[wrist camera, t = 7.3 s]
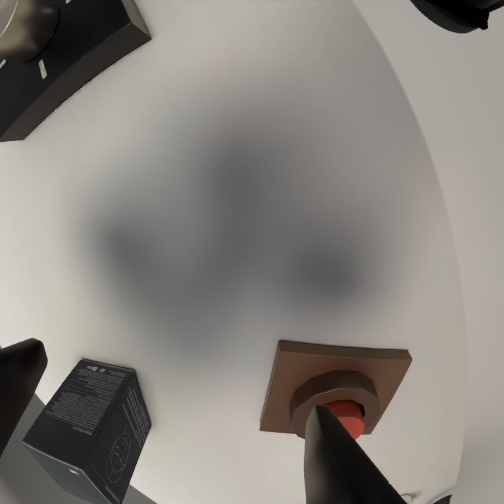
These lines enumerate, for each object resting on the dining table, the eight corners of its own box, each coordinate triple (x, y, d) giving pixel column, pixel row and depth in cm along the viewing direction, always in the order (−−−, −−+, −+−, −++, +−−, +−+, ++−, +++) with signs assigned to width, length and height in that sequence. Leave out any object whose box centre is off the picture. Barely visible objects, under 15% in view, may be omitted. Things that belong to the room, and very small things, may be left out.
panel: (111, -45, 11) (92, -63, 8) (152, 38, 14) (130, 22, 11) (1, 50, 14) (-24, 45, 11) (23, 140, 16) (-6, 143, 13)
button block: (407, 349, 20) (421, 374, 17) (368, 425, 23) (374, 449, 20) (279, 340, 20) (279, 368, 17) (259, 420, 23) (258, 447, 20)
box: (80, 357, 22) (18, 441, 12) (135, 368, 22) (82, 471, 12) (103, 414, 25) (62, 492, 15) (153, 426, 25) (120, 514, 15)
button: (367, 398, 18) (372, 416, 17) (350, 429, 20) (354, 446, 18) (318, 397, 18) (321, 416, 17) (306, 428, 20) (307, 446, 18)
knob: (64, 31, 11) (18, 13, 7) (17, 75, 12) (-31, 70, 8) (53, -9, 10) (13, -29, 6) (9, 33, 11) (-33, 23, 7)
